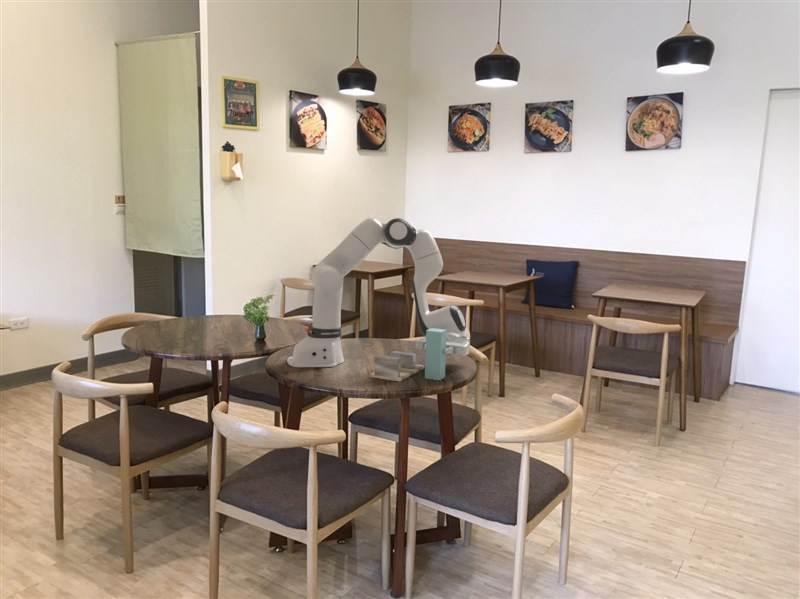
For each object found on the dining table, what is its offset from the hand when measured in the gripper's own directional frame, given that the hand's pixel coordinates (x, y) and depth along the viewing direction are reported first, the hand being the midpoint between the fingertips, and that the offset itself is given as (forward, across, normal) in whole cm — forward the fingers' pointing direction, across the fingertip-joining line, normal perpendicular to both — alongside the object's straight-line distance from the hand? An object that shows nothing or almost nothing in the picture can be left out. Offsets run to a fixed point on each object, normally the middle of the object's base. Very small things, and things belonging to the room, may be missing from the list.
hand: (434, 350), depth 234 cm
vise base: (-1, -15, +10) cm, 18 cm away
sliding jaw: (-5, -15, +9) cm, 18 cm away
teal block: (-1, 0, +10) cm, 11 cm away
